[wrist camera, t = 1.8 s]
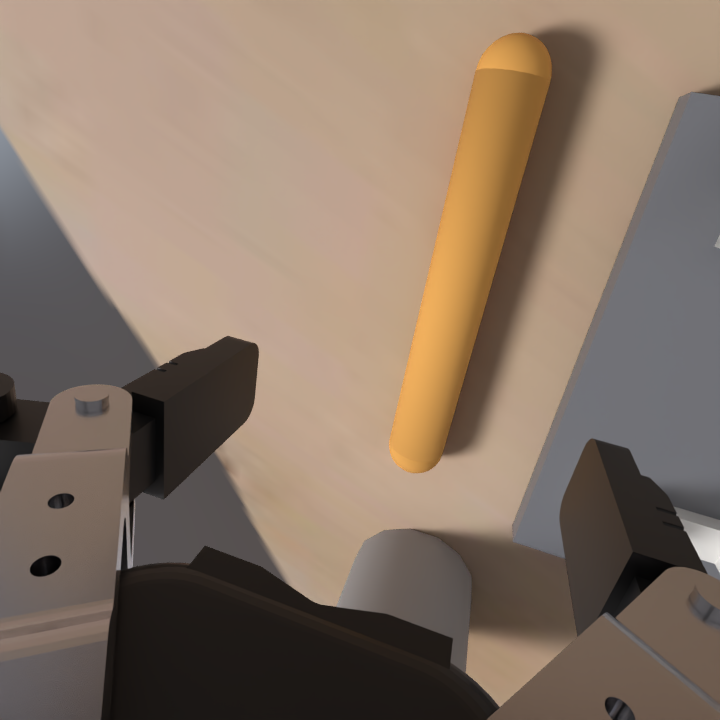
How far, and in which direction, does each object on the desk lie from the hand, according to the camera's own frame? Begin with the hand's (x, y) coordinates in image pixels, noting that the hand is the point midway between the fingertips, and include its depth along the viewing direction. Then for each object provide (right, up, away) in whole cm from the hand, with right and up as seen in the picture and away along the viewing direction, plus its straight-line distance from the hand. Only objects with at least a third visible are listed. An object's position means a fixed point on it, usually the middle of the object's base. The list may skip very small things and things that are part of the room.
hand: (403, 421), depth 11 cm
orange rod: (+4, +6, +14) cm, 16 cm away
